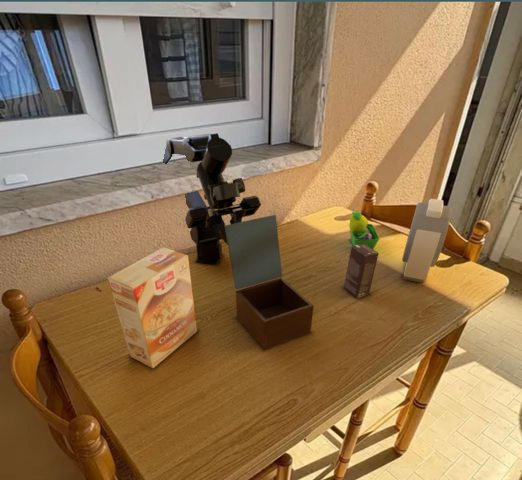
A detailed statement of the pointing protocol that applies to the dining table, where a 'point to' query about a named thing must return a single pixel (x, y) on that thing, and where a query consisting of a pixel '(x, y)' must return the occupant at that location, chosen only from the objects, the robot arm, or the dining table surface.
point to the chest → (274, 312)
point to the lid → (254, 251)
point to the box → (360, 270)
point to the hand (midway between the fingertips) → (235, 244)
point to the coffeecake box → (155, 305)
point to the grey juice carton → (425, 239)
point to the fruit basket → (362, 231)
